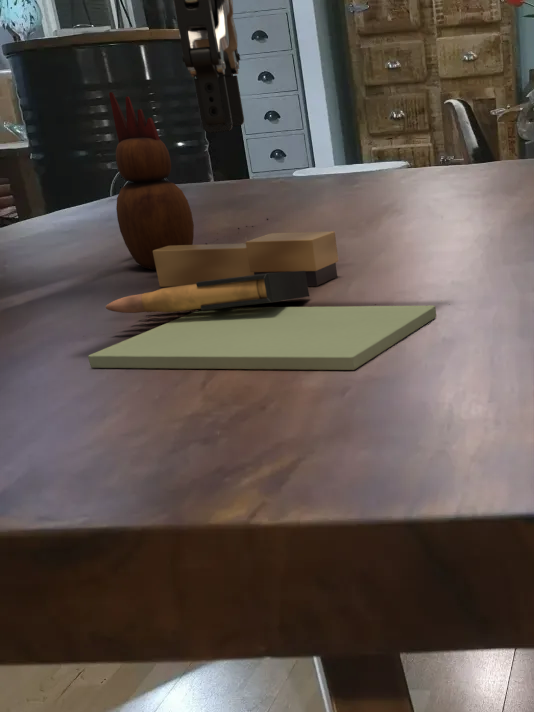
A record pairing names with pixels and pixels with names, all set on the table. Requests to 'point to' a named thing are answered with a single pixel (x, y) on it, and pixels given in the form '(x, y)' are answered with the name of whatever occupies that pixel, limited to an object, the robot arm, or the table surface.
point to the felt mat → (268, 338)
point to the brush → (250, 259)
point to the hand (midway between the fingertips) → (225, 129)
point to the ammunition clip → (218, 294)
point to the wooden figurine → (147, 189)
